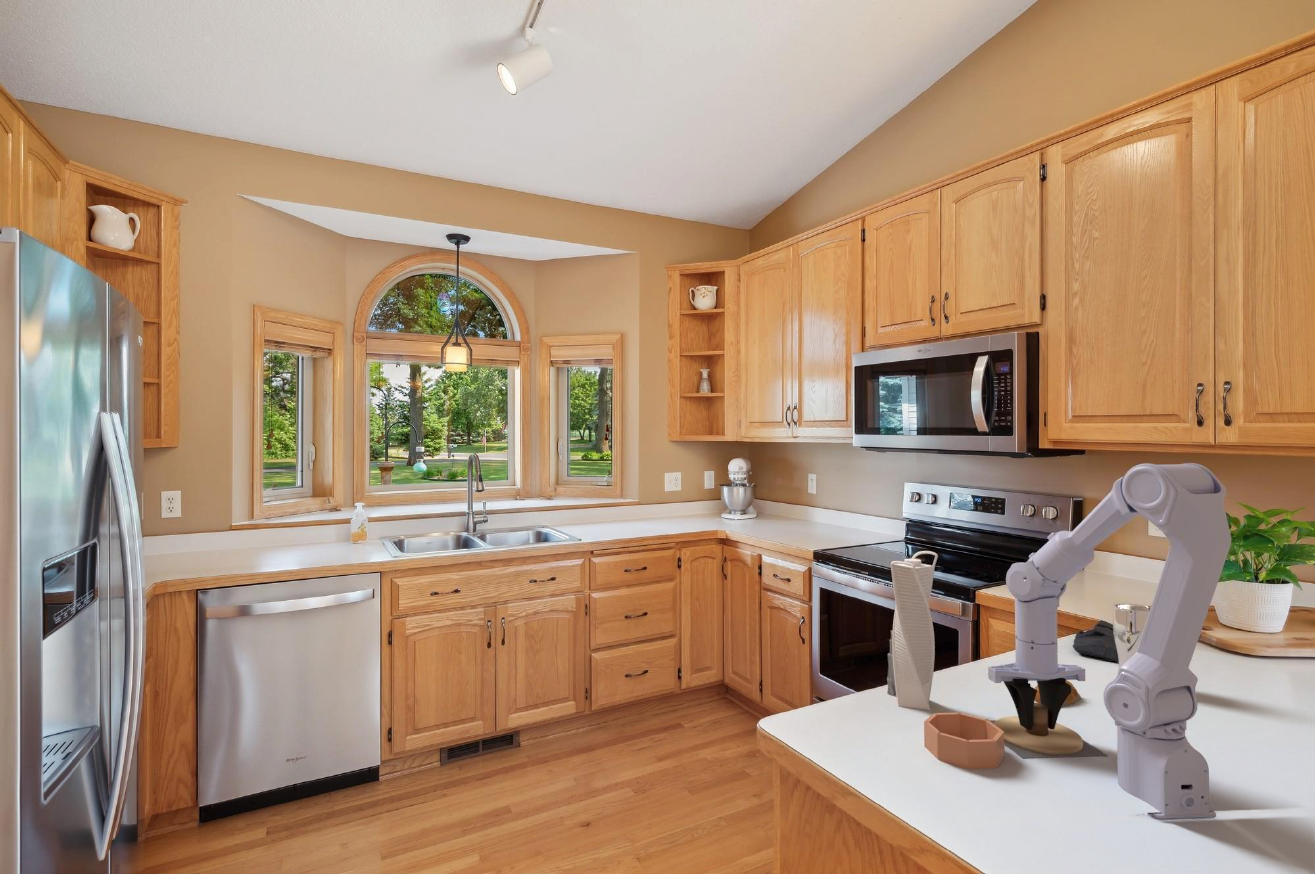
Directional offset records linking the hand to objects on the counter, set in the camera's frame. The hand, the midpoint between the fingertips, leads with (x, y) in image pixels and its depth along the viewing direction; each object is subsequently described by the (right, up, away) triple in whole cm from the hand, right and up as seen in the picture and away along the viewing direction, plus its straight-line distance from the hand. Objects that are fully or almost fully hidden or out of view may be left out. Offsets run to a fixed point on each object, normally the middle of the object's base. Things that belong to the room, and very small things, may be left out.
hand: (1037, 726), depth 101 cm
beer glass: (+34, -3, +25) cm, 42 cm away
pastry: (+13, -3, +16) cm, 21 cm away
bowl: (-14, -2, -5) cm, 15 cm away
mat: (0, -2, 0) cm, 2 cm away
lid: (0, -2, 0) cm, 2 cm away
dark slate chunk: (+44, -4, +47) cm, 65 cm away
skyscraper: (-14, -3, +14) cm, 20 cm away
